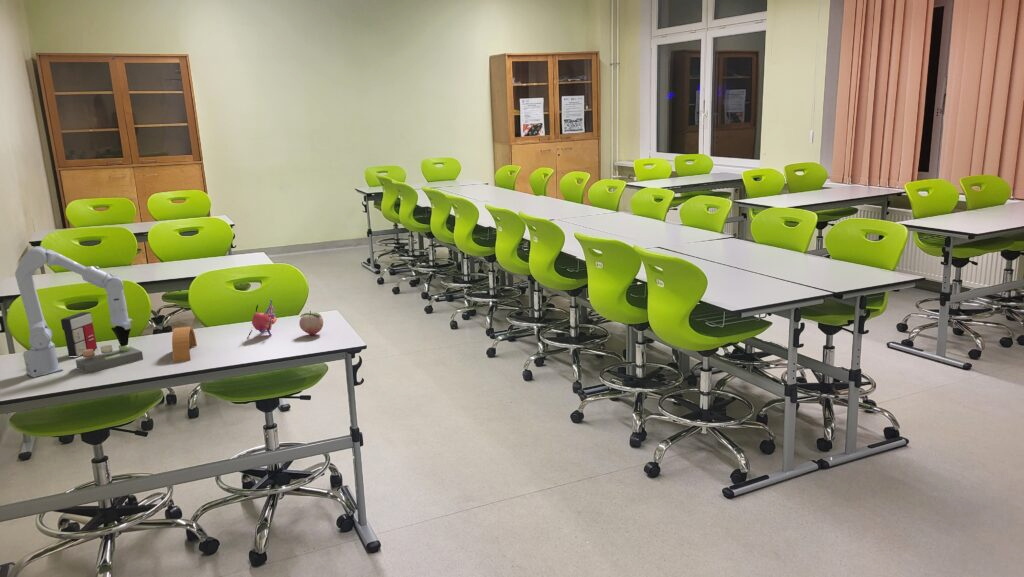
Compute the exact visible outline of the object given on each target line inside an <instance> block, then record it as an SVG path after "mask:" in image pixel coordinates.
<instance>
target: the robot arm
mask: <svg viewBox="0 0 1024 577" xmlns="http://www.w3.org/2000/svg"><path fill="white" fill-rule="evenodd" d="M19 261H20V262H19V263H18V266H17V268H16V270H15V272H14V275H15V279H16V283H17V287H18V291H19V294H20V296H21V301H22V304H23V309H24V312H25V316H26V318H27V322H28V331H29V337H28V343H29V345H30V349H29V350H25V351H23V359H24V364H25V370H26V374H27V375H29V376H30V377H31V378H36V377H40V376H44V375H49V374H53V373H57V372H60V371H64V368H62V367H61V366H59V361H58V356H57V351H56V350H57V349H56V344H55V343H54V342H53V341H52V339H53V337H54V336H53V335H54V334H53V331H52V329H51V328H50V327H49V326H48V324H47V321H46V320H45V317H44V313H43V310H42V306H41V303H40V298H39V295H38V291H37V288H36V284H35V280H34V277H33V275H34V274H35V272H37V270H38V269H40V268H42V267H43V266H44V265H46V263H47V265H46V266H48V267H49V266H59V267H61V268H64V269H66V270H68V271H71V272H73V273H75V274H78V275H80V276H81V278H82V280H83V281H85V282H86V283H89V284H90V285H94V286H96V287H98V288H99V289H104V291H105V292H106V293H107V294H106V295H107V299H106V300H107V305H108V310H109V316H110V319H109V321H110V325H111V326H114V327H111V328H110V330H111V331H112V332H113V333H114V335H115V337H116V338H117V341H118V344H119V345H121V346H125V345H128V344H129V336H130V332H131V330H132V323H131V322H133V319H132V318H129V314H128V313H129V312H128V308H127V300H126V296H125V291H124V282H123V280H122V278H120V277H119V276H117V275H114V274H113V273H111V272H110V273H108V272H107V271H104V270H102V269H101V268H100V267H99V266H97V265H95V266H93V265H91V266H89V265H88V266H85V265H83V264H81V263H79V262H77V261H76V260H75V261H74V260H73V259H72V258H69V257H67V256H65V255H64V254H61V253H59V252H57V251H55V250H53V249H47V248H46V247H44V246H40V245H37V246H33V247H31V248H30V249H29V250H28V251H27V252H26V253H25V254H23V256H22V257H21V259H20V260H19Z"/></svg>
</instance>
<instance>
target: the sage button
mask: <svg viewBox="0 0 1024 577" xmlns="http://www.w3.org/2000/svg"><path fill="white" fill-rule="evenodd" d="M130 347H131V344H130V343H128V345H125V346H121V345H120V344H119V345H118V350H119V351H120V352H126V351H129V350H130Z"/></svg>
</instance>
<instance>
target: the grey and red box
mask: <svg viewBox="0 0 1024 577" xmlns="http://www.w3.org/2000/svg"><path fill="white" fill-rule="evenodd" d="M91 313H92V312H90V311H82V312H79V313H75V314H72V315H70V316H67V317H63V318H61V319H60V323H61V329H62V330H63V332H64V337H65V341H66V342H65V343H66V347H67V353H68V357H69V356H79V355H81V354H83V353H82V351H84V350H88V349H96V348H97V349H98V346H97V340H96V335H95V330H94V329H95V327H94V324H93V318H92V314H91ZM97 349H96V350H97ZM81 356H82V355H81ZM79 357H80V356H79Z"/></svg>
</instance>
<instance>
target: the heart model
mask: <svg viewBox="0 0 1024 577" xmlns="http://www.w3.org/2000/svg"><path fill="white" fill-rule="evenodd" d="M269 301H270V303H269V306H268V307H267V308H266V311H265V312H258V307H259V305H258V304H256V307H255V312H256V313H254V314H253V316H252V318H251V325H252V327H253V329H255V330H256V331H258V332H259V333H260V334H264V332H265V331H266V330H267V331H266V332H267V333H268V335H269V336H270V335H271V336H272V332H271V330H272V325H274V324H276V322H277V320H278V319H277V317H276V313H273V312H276V311H277V312H278V310H277V309H275V308H274V306H273V303H272V302H273V299H272V298H271V299H269ZM253 329H251V330H250V332H249V334H248V335H247V337H246V338H247V339H249V337H250V335H251V334H252V332H253Z"/></svg>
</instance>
